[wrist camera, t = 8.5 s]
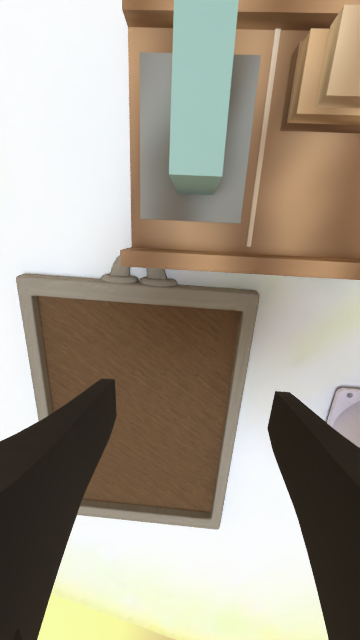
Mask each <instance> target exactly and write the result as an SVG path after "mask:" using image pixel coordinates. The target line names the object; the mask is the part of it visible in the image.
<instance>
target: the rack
mask: <svg viewBox="0 0 360 640" xmlns="http://www.w3.org/2000/svg"><path fill="white" fill-rule="evenodd" d="M344 5H360V0H239V3H238V14H237V24H236V35H235V46H234V56H233V67H232V78H231V89H230V99H229V110H228V121H227V131H226V142H225V153H224V164H223V174H222V178H221V180H220V182H219V184H218V186H217V189H216V191H215V193H214V195H197V194H178V193H177V191H176V189H175V187H174V184H173V182H172V180H171V178H170V176H169V153H170V119H171V86H172V52H173V18H174V0H122V10H123V13H124V16H125V19H126V22H127V25H128V48H129V108H130V169H131V229H132V247H131V248H127V249H123V250H120V257H121V266H125V267H142V268H160V269H177V270H195V271H212V272H230V273H248V274H265V275H283V276H300V277H318V278H335V279H353V280H360V133H333V132H304V131H280V129H281V123H282V116H283V110H284V103H285V97H286V90H287V84H288V77H289V71H290V64H291V58H292V55H293V53H294V51H295V49H296V47H297V45H298V44H299V42H300V41H304V40H305V38H306V36H307V35H308V33H309V31H310V29H311V28H316V29H330V26H331V24H332V23H333V21H334V20H335V18H336V17H337V15H338V14H339V12H340V11H341V9H342V7H343V6H344Z"/></svg>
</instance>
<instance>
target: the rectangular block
mask: <svg viewBox="0 0 360 640" xmlns="http://www.w3.org/2000/svg"><path fill="white" fill-rule="evenodd" d="M238 3H239V0H174V18H173V52H172V86H171V119H170V153H169V176H170V178H171V180H172V182H173V184H174V187H175V189H176V191H177V193H178V194H197V195H214V193H215V191H216V189H217V186H218V184H219V182H220V180H221V178H222V174H223V164H224V153H225V142H226V131H227V121H228V110H229V99H230V89H231V78H232V67H233V56H234V46H235V35H236V24H237V14H238Z"/></svg>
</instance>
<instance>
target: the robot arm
mask: <svg viewBox="0 0 360 640" xmlns="http://www.w3.org/2000/svg"><path fill="white" fill-rule="evenodd" d="M348 393H350V394H349V395H347V394H348ZM116 417H117V413H116V391H115V379H104V378H102V379H100V380H99V381H97V382H96V383H94V384H93V385H92V386H90V387H89V388H88V389H86V390H85V391H84V392H82V393H81V394H79V395H78V396H77V397H75V398H74V399H72V400H71V401H70V402H68V403H67V404H65V405H64V406H62V407H61V408H59V409H58V410H56V411H55V412H53V413H52V414H50V415H48V416H47V417H45V418H44V419H42V420H40V421H39V422H37V423H35V424H33V425H32V426H30V427H28V428H26V429H24V430H22V431H21V432H19V433H17V434H15V435H13V436H11V437H9V438H7V439H4V440H2V441H0V640H37V637H38V635H39V631H40V628H41V624H42V621H43V618H44V614H45V611H46V608H47V604H48V601H49V598H50V595H51V591H52V588H53V585H54V582H55V579H56V576H57V573H58V569H59V566H60V563H61V560H62V557H63V554H64V551H65V548H66V545H67V542H68V539H69V536H70V533H71V530H72V527H73V524H74V521H75V519H76V516H77V513H78V510H79V507H80V504H81V502H82V499H83V496H84V494H85V492H86V489H87V487H88V485H89V482H90V480H91V478H92V476H93V474H94V472H95V469H96V467H97V465H98V463H99V461H100V458H101V456H102V454H103V452H104V450H105V447H106V445H107V443H108V441H109V438H110V436H111V433H112V430H113V426H114V423H115V420H116ZM268 432H269V436H270V441H271V445H272V449H273V452H274V455H275V458H276V460H277V463H278V466H279V469H280V471H281V474H282V476H283V479H284V482H285V484H286V487H287V490H288V492H289V495H290V498H291V500H292V503H293V505H294V508H295V511H296V514H297V517H298V520H299V524H300V527H301V531H302V535H303V538H304V542H305V545H306V549H307V552H308V556H309V560H310V564H311V568H312V572H313V576H314V579H315V583H316V587H317V591H318V596H319V600H320V604H321V608H322V612H323V616H324V621H325V625H326V629H327V633H328V638H329V640H360V389H352V388H340V389H338V390H337V391H336V394H335V397H334V400H333V403H332V407H331V410H330V413H329V416H328V420H327V423H326V422H325V421H324V420H322V419H321V418H320V417H319V416H318V415H316V414H315V413H314V412H313V411H312V410H310V409H309V408H308V407H307V406H306V405H304V404H303V403H302V402H301V401H300V400H298V399H297V398H296V397H295V396H294V395H292V394H291V393H290V392H277V391H275V395H274V400H273V405H272V410H271V415H270V419H269V424H268Z"/></svg>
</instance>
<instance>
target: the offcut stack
mask: <svg viewBox="0 0 360 640" xmlns="http://www.w3.org/2000/svg"><path fill="white" fill-rule="evenodd" d="M280 131H304V132H333V133H360V5H344V6H343V7H342V9H341V11H340V12H339V14H338V15H337V17H336V18H335V20H334V21H333V23H332V24H331V26H330V29H316V28H311V29H310V31H309V33H308V35H307V36H306V38H305V40H304V41H300V42H299V44H298V45H297V47H296V49H295V51H294V53H293V55H292V58H291V64H290V71H289V77H288V84H287V90H286V97H285V103H284V110H283V116H282V123H281V129H280Z"/></svg>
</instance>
